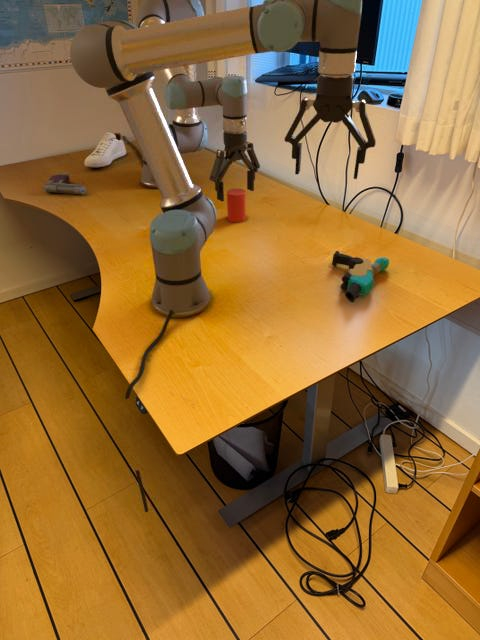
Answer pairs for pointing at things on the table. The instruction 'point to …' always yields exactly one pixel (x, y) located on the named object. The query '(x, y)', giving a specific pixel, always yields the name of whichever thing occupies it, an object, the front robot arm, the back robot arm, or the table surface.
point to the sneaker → (106, 151)
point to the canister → (236, 205)
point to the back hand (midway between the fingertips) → (235, 195)
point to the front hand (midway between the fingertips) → (326, 174)
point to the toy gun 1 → (63, 185)
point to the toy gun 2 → (358, 274)
